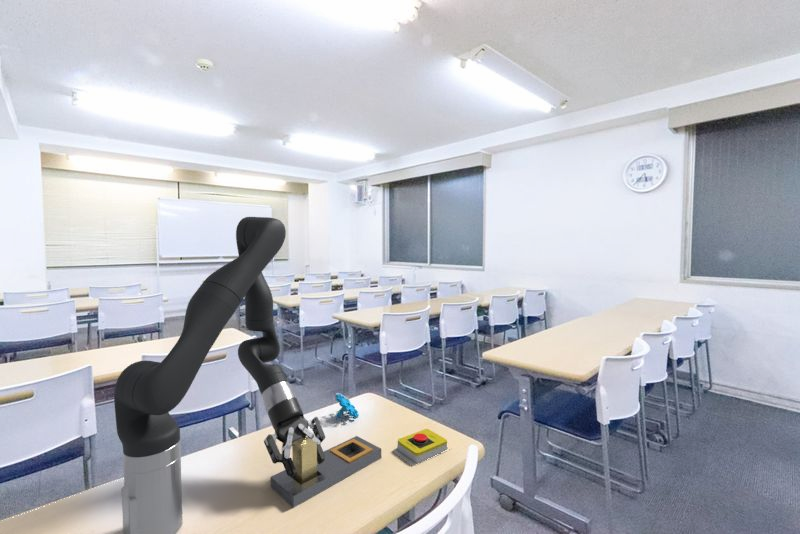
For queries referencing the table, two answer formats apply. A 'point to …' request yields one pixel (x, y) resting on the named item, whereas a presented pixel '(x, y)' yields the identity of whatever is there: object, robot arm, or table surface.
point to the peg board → (327, 470)
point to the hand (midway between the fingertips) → (308, 468)
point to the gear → (346, 406)
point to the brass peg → (305, 460)
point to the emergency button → (420, 446)
